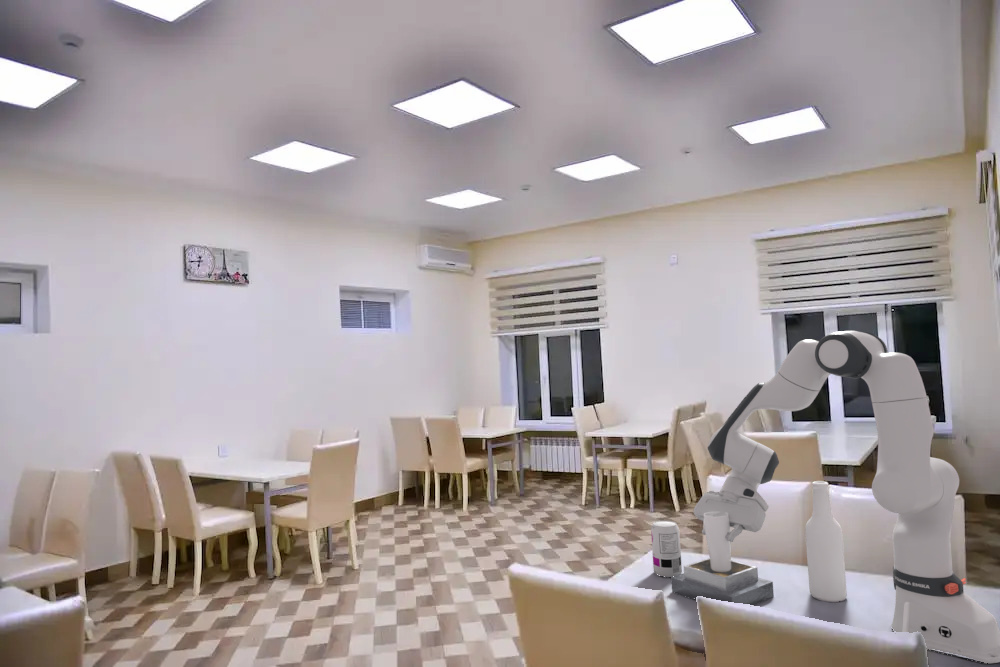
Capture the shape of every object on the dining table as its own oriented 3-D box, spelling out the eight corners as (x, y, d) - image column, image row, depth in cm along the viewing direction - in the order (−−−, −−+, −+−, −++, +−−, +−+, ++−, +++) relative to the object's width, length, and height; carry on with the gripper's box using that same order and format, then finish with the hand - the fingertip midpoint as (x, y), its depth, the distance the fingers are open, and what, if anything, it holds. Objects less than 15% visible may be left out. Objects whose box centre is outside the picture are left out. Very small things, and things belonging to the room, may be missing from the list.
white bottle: (830, 605, 164) (821, 486, 165) (802, 594, 172) (794, 481, 174) (855, 598, 167) (846, 482, 169) (826, 588, 176) (818, 477, 177)
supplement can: (648, 575, 194) (645, 524, 194) (662, 567, 200) (659, 518, 200) (673, 580, 188) (670, 528, 189) (686, 572, 194) (683, 522, 195)
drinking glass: (737, 572, 172) (732, 516, 173) (712, 574, 172) (706, 517, 173) (730, 565, 178) (724, 510, 180) (705, 566, 179) (700, 512, 180)
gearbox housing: (773, 596, 172) (771, 568, 172) (733, 613, 162) (731, 583, 162) (711, 578, 188) (710, 552, 189) (672, 592, 179) (670, 564, 179)
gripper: (701, 483, 189) (680, 523, 183) (763, 493, 172) (742, 538, 166) (712, 496, 191) (692, 536, 185) (774, 507, 174) (754, 551, 168)
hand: (716, 537), depth 176 cm, fingers closed on drinking glass, 6 cm apart
